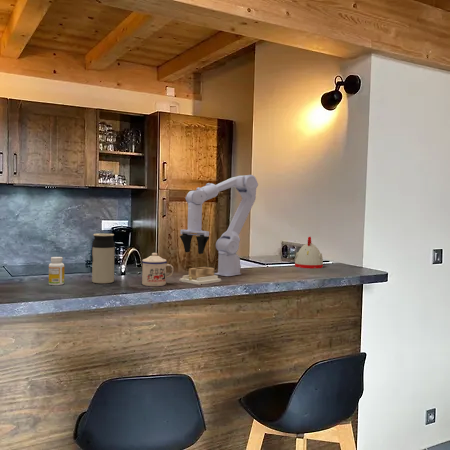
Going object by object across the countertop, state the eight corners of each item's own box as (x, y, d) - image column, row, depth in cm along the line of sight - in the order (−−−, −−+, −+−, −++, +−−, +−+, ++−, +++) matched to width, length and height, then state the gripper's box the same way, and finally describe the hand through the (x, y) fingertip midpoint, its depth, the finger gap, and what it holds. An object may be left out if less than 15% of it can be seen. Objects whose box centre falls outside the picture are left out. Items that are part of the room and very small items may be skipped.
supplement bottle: (59, 282, 181) (59, 256, 180) (67, 284, 177) (67, 257, 177) (45, 284, 177) (45, 257, 176) (53, 285, 173) (54, 258, 173)
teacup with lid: (146, 287, 175) (146, 254, 175) (138, 283, 183) (138, 252, 183) (177, 285, 181) (178, 253, 180) (168, 281, 189) (168, 251, 188)
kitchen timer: (292, 267, 241) (293, 236, 241) (296, 264, 255) (297, 235, 254) (321, 269, 237) (322, 238, 237) (324, 265, 250) (325, 236, 250)
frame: (204, 276, 197) (204, 266, 196) (213, 278, 193) (214, 268, 193) (188, 278, 190) (188, 268, 190) (197, 280, 187) (198, 270, 186)
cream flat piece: (200, 278, 199) (200, 272, 199) (221, 281, 192) (221, 275, 192) (179, 281, 190) (179, 275, 190) (199, 284, 183) (199, 278, 183)
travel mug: (116, 280, 187) (117, 233, 187) (109, 284, 180) (110, 235, 179) (96, 280, 188) (97, 233, 187) (88, 283, 180) (89, 234, 180)
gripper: (175, 219, 203) (174, 252, 203) (200, 220, 193) (200, 255, 194) (187, 219, 208) (186, 251, 209) (212, 220, 199) (212, 253, 199)
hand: (194, 252), depth 202 cm, fingers open, 7 cm apart
